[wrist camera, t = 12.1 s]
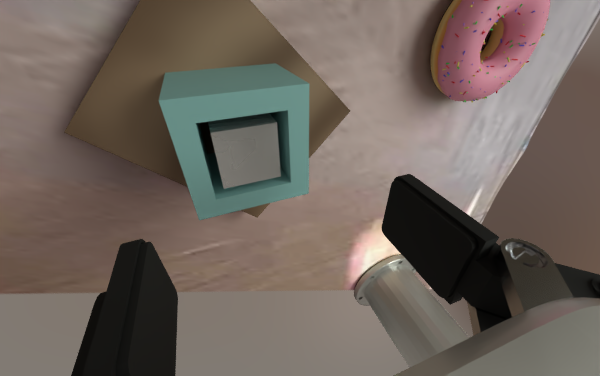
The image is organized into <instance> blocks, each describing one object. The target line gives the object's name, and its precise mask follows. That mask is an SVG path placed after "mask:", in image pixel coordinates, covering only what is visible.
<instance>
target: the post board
mask: <svg viewBox="0 0 600 376" xmlns="http://www.w3.org/2000/svg"><path fill="white" fill-rule="evenodd" d="M274 63H276V64H277V65H279V66H281V67H282V68H284V69H286V70H288V71H289V72H291V73H293V74H294V75H296V76H298V77H299V78H301V79H303V80H304V81H306V82H308V83H309V158H310V157H311V155H312V154H313V153H314V152H315V151H316V150H317V149H318V147H319V146H320V145H321V144H322V143H323V142H324V141H325V139H326V138H327V137H328V136H329V135H330V134H331V133H332V131H333V130H334V129H335V128H336V127H337V126H338V125H339V123H340V122H341V121H342V120H343V119H344V118H345V116H346V115H347V114H348V113H349V112H350V110H349V109H348V108H347V107H346V106H345V105H344V103H343V102H342V101H341V100H340V99H339V98H338V97H337V96H336V95H335V94H334V92H333V91H332V90H331V89H330V88H329V87H328V86H327V85H326V84H325V82H324V81H323V80H322V79H321V78H320V77H319V76H318V75H317V74H316V73H315V71H314V70H313V69H312V68H311V67H310V66H309V65H308V64H307V63H306V61H305V60H304V59H303V58H302V57H301V56H300V55H299V54H298V53H297V52H296V50H295V49H294V48H293V47H292V46H291V45H290V44H289V43H288V42H287V40H286V39H285V38H284V37H283V36H282V35H281V34H280V33H279V32H278V31H277V29H276V28H275V27H274V26H273V25H272V24H271V23H270V22H269V21H268V20H267V18H266V17H265V16H264V15H263V14H262V13H261V12H260V11H259V10H258V8H257V7H256V6H255V5H254V4H253V3H252V2H251V1H250V0H140V2H139V3H138V5H137V7H136V9H135V10H134V12H133V14H132V16H131V17H130V19H129V21H128V22H127V24H126V26H125V28H124V29H123V31H122V33H121V35H120V36H119V38H118V40H117V42H116V43H115V45H114V47H113V49H112V50H111V52H110V54H109V55H108V57H107V59H106V61H105V62H104V64H103V66H102V68H101V69H100V71H99V73H98V75H97V76H96V78H95V80H94V82H93V83H92V85H91V87H90V88H89V90H88V92H87V94H86V95H85V97H84V99H83V101H82V102H81V104H80V106H79V108H78V109H77V111H76V113H75V114H74V116H73V118H72V120H71V121H70V123H69V125H68V127H67V128H66V130H65V133H67V134H69V135H71V136H74V137H76V138H78V139H80V140H83V141H85V142H87V143H90V144H92V145H94V146H96V147H99V148H101V149H103V150H105V151H108V152H110V153H112V154H114V155H117V156H119V157H121V158H124V159H126V160H128V161H130V162H133V163H135V164H137V165H139V166H142V167H144V168H146V169H148V170H151V171H153V172H155V173H157V174H160V175H162V176H164V177H167V178H169V179H171V180H173V181H176V182H178V183H180V184H182V185H185V186H187V187H188V185H187V183H186V180H185V177H184V174H183V171H182V168H181V165H180V162H179V159H178V156H177V153H176V150H175V147H174V144H173V141H172V139H171V136H170V133H169V130H168V127H167V124H166V121H165V118H164V115H163V112H162V109H161V106H160V103H159V97H160V92H161V88H162V84H163V80H164V75H165V73H168V72H180V71H192V70H203V69H215V68H227V67H239V66H250V65H262V64H274ZM200 127H201V131H202V134H203V138H204V142H205V146H206V150H207V154H209V153H215V154H216V158H217V162H218V167H219V171H220V175H221V179H222V183H223V188H224V189H225V188H230V187H235V186H239V185H244V184H248V183H253V182H257V181H262V180H267V179H271V178H276V177H280V176H281V172H280V158H279V144H278V129H277V122H276V121H275V120H274V118H273V117H272V116H271V115H270V114H269V113H264V114H257V115H250V116H243V117H236V118H229V119H222V120H215V121H208V122H201V123H200ZM269 204H270V203H267V204H263V205H259V206H255V207H251V208H247V209H243V210H241V211H244V212H246V213H248V214H250V215H253V216H255V217H258V216H259V215H260V214H261V213H262V212H263V210H264V209H265V208H266V207H267V206H268V205H269Z"/></svg>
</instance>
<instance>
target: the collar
mask: <svg viewBox="0 0 600 376" xmlns="http://www.w3.org/2000/svg"><path fill="white" fill-rule="evenodd" d="M159 103H160V106H161V109H162V112H163V115H164V118H165V121H166V124H167V127H168V130H169V133H170V136H171V139H172V141H173V144H174V147H175V150H176V153H177V156H178V159H179V162H180V165H181V168H182V171H183V174H184V177H185V180H186V183H187V185H188V188H189V191H190V194H191V197H192V200H193V203H194V206H195V209H196V212H197V215H198V218H199V220H203V219H207V218H211V217H215V216H219V215H223V214H227V213H231V212H235V211H239V210H243V209H247V208H251V207H255V206H259V205H263V204H267V203H271V202H276V201H280V200H284V199H288V198H292V197H296V196H300V195H304V194H308V193H309V83H308V82H306V81H304V80H303V79H301V78H299V77H298V76H296V75H294V74H293V73H291V72H289V71H288V70H286V69H284V68H282V67H281V66H279V65H277V64H276V63H274V64H262V65H250V66H239V67H227V68H215V69H203V70H192V71H180V72H168V73H165V75H164V80H163V84H162V88H161V92H160V97H159ZM264 113H269V114H270V115H271V116H272V117H273V118H274V120H275V121H276V122H277V129H278V144H279V158H280V172H281V176H280V177H276V178H271V179H267V180H262V181H257V182H253V183H248V184H244V185H239V186H235V187H230V188H225V189H224V188H223V183H222V179H221V175H220V171H219V167H218V162H217V158H216V154H215V153H209V154H207V150H206V146H205V142H204V138H203V134H202V131H201V127H200V123H201V122H208V121H215V120H222V119H229V118H236V117H243V116H250V115H257V114H264Z"/></svg>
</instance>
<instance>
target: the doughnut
mask: <svg viewBox="0 0 600 376" xmlns="http://www.w3.org/2000/svg"><path fill="white" fill-rule="evenodd" d="M549 8H550V0H453V1H452V3H451V4H450V6H449V7H448V9H447V11H446V12H445V14H444V16H443V18H442V20H441V22H440V24H439V26H438V29H437V32H436V34H435V38H434V41H433V45H432V50H431V73H432V77H433V80H434V83H435V84H436V86H437V88H438V89H439V90H440V91H441V92H442V93H444V94H445V95H446V96H447V97H449V98H450V99H452V100H455V101H463V102H464V101H465V102H466V101H472V102H473V101H475V100H478V99H481V98H487V97H486V96H488V95H491V94H492V93H494V92H496V93H497V91H498V90H499V89H500V88H501V87H503V86H504V85H505V84H506V83H508V82H510V80H511V79H512V78H513V77H514V76H515V75H516V74H517V73H518V72H519V70H520V69H521V68H522V67H523V66H524V64H525V63H527V62H529V61H527V60H528V59H529V57H530V56H531V54H532V52H533V51H534V49H535V47H536V45H537V44H538V42H539V40H540V37H541V36H543V35H545V34H543V30H544V28H545V25H546V21H547V20H548V14H549ZM491 27H492V29H491ZM489 30H492V32H491V35H490V38H489V40H488V43H487V45H486V46H485V48H484V50H483V51H482V52H481V48H482V45H484V44H485V38H486V36H487V34H488V32H489ZM542 34H543V35H542ZM483 42H484V43H483ZM480 53H481V54H480Z"/></svg>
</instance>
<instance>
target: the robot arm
mask: <svg viewBox="0 0 600 376" xmlns="http://www.w3.org/2000/svg"><path fill="white" fill-rule="evenodd" d="M382 232H383V234H384V235H385V236H386V237H387V239H388V240H389V241H390V242H391V243H392V244H393V245H394V246H395V247H396V249H397V250H398V251H399V252H400V253H401V254H402V255H396V256H392V257H390V258H387V259H385V260H383V261H381V262H380V263H378V264H376V265H375V266H373V267H372V268H371V269H370V270H369V271H367V272H366V273H365V274H364V275H363V276H362V278H361V279H360V280H359V282H358V283H357V285H356V287H355V290H354V296H355V298H356V300H357V302H358V303H359V304H361V305H366V306H368V305H370V306H371V307H372V309H373V310H374V312H375V314H376V315H377V317H378V319H379V320H380V322H381V323H382V325H383V327H384V328H385V330H386V331H387V333H388V334H389V336H390V338H391V339H392V341H393V342H394V344H395V345H396V347H397V349H398V350H399V352H400V353H401V355H402V356H403V358H404V360H405V361H406V363H407V364H408V366H409V368H408V369H406V370H404V371H402V372H400V373H398V374H396V375H394V376H600V275H599V274H594V273H591V272H587V271H583V270H579V269H575V268H572V267H568V266H564V265H560V264H556V263H554V261H553V260H552V258H551V257H550V256H549V255H548V254H547V253H546V252H545V251H544V250H543V249H541V248H539V247H538V246H536V245H534V244H532V243H529V242H527V241H524V240H520V239H513V238H511V239H506V240H504V241H502V242H501V244H500V246H499V245H498V244H497V243H496V241H497V240H498V238H499V237H498V236H497V235H495V234H494V233H493V232H491V231H490V230H488V229H487V228H486V227H484V226H483V225H481V224H480V223H479V222H477V221H476V220H474V219H473V218H472V217H470V216H469V215H467V214H466V213H465V212H463V211H462V210H460V209H459V208H458V207H456V206H455V205H453V204H452V203H451V202H449V201H448V200H446V199H445V198H443V197H442V196H441V195H439V194H438V193H436V192H435V191H434V190H432V189H431V188H429V187H428V186H427V185H425V184H424V183H422V182H421V181H420V180H418V179H417V178H415V177H414V176H413V175H411V174H407V175H402V176H398V177H396V178H395V179H394V181H393V182H392V184H391V188H390V193H389V197H388V202H387V206H386V210H385V215H384V219H383V224H382ZM416 271H417V272H418V273H419V274H420V275H421V277H422V278H423V279H424V280H425V281H426V282H427V283H428V284H429V285H430V287H431V288H432V289H433V290H434V291H435V292H436V293H437V294H438V295H439V296H440V297H442V298H444V299H445V300H446V301H447V302H448V303H449V304H452V303H455V302H457V301H459V300H461V299H462V297H464V299H465V300H466V301H467V304H468V309H469V315H470V320H471V324H472V330H473V336H472V337H469V336H468V335H467V333H466V332H465V331H464V330H463V329H462V328H461V327H460V326H459V324H458V323H457V322H456V321H455V320H454V319H453V318H452V316H451V315H450V314H449V313H448V312H447V311H446V310H445V308H444V307H443V306H442V305H441V304H440V303H439V301H438V300H437V299H436V298H435V297H434V296H433V295H432V293H431V292H430V291H429V290H428V289H427V288H426V287H425V285H424V284H423V283H422V282H421V281H420V280H419V279H418V277H417V276H416V275H415V272H416ZM177 305H178V297H177V292H176V289H175V287H174V285H173V283H172V281H171V279H170V277H169V275H168V273H167V271H166V269H165V268H164V266H163V264H162V262H161V260H160V258H159V256H158V254H157V252H156V250H155V248H154V246H153V244H152V243H151V242H146V243H145V241H144V240H143V239H140V240H135V241H131V242H127V243H123V244H121V245H120V247H119V251H118V254H117V258H116V261H115V265H114V268H113V271H112V275H111V278H110V282H109V285H108V288H107V291H106V292H103V293H100V294H99V296H98V297H97V299H96V301H95V303H94V306H93V309H92V313H91V316H90V319H89V322H88V325H87V328H86V331H85V335H84V337H83V341H82V344H81V347H80V350H79V353H78V356H77V359H76V362H75V365H74V369H73V372H72V375H71V376H175V366H176V335H177Z"/></svg>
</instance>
